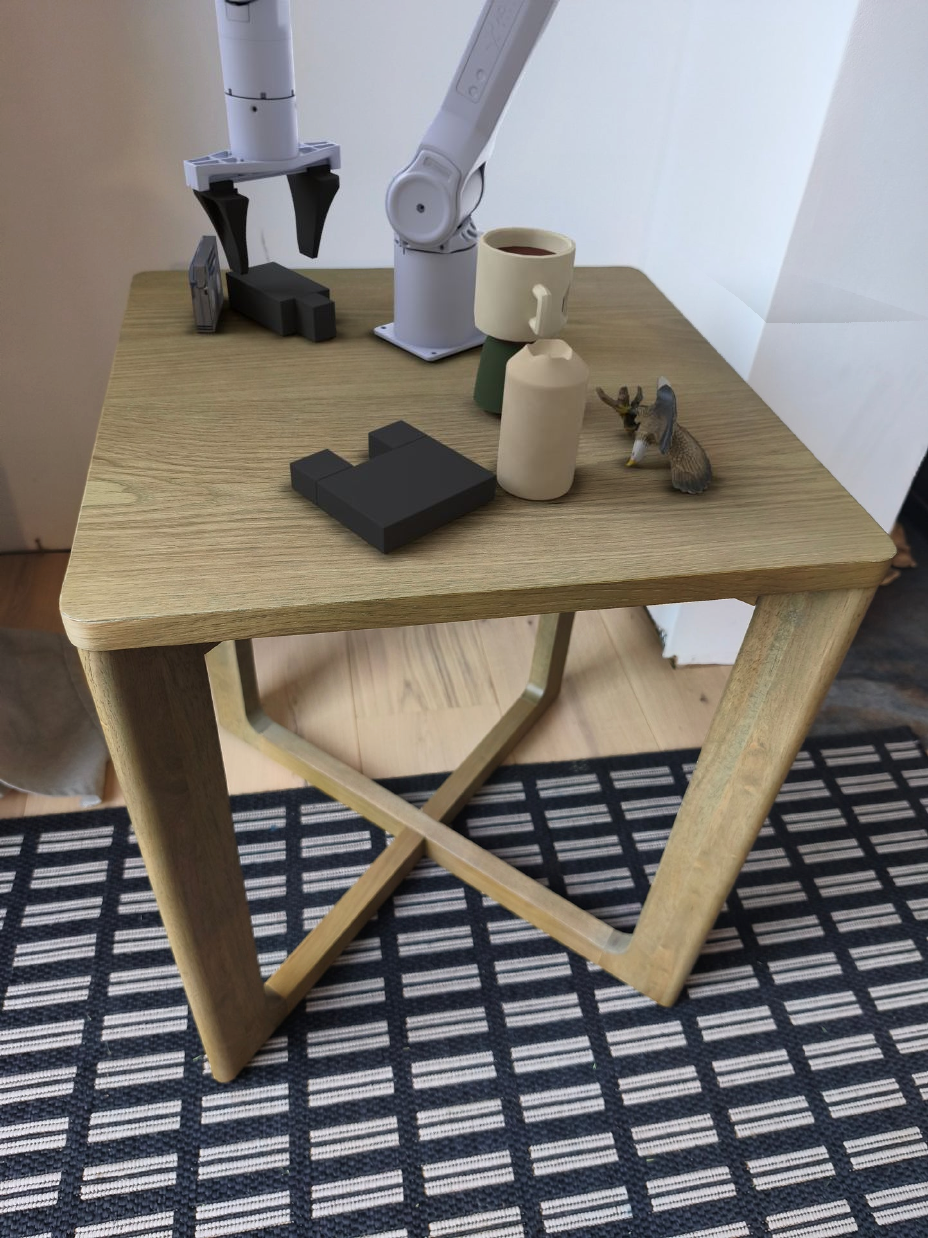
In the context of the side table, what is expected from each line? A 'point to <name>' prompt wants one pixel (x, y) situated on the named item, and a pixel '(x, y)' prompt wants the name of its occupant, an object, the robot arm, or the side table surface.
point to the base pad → (394, 486)
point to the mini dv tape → (206, 285)
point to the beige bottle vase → (541, 420)
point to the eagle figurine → (663, 435)
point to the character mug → (517, 299)
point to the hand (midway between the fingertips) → (274, 263)
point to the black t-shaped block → (283, 301)
